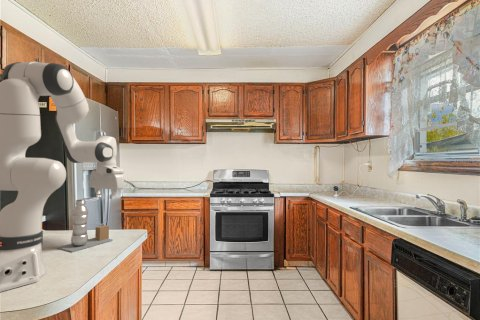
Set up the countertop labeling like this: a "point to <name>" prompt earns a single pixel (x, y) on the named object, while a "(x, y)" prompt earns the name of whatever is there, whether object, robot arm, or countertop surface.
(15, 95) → the robot arm
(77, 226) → the plastic bottle
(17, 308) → the countertop surface
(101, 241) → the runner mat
